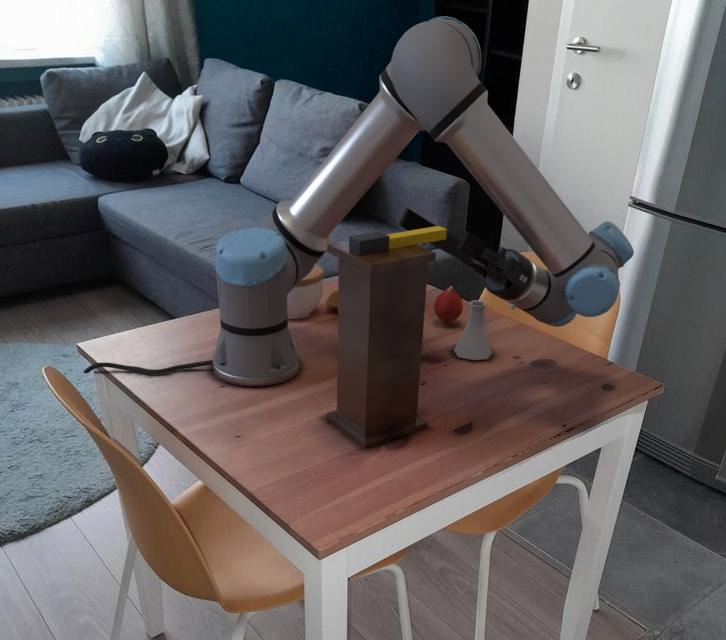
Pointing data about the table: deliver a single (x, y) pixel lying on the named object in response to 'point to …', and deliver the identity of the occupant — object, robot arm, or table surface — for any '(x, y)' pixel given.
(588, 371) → the table surface
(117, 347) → the table surface
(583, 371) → the table surface
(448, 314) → the pomegranate
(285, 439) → the table surface
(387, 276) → the pedestal stand
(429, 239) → the highlighter
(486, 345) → the flask
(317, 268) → the lidded bowl
